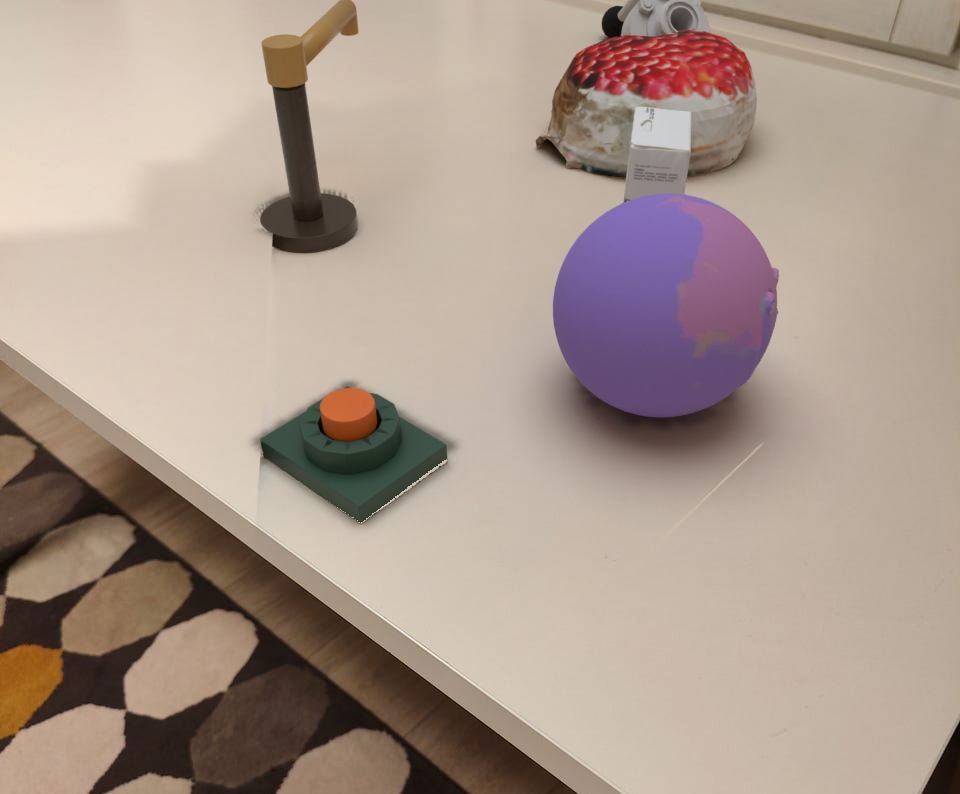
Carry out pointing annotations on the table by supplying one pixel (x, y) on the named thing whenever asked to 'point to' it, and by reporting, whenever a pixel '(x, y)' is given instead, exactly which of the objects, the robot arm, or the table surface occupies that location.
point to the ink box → (658, 153)
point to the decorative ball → (665, 305)
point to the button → (348, 414)
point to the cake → (653, 99)
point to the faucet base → (304, 186)
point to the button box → (354, 458)
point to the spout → (306, 45)
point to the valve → (654, 18)
